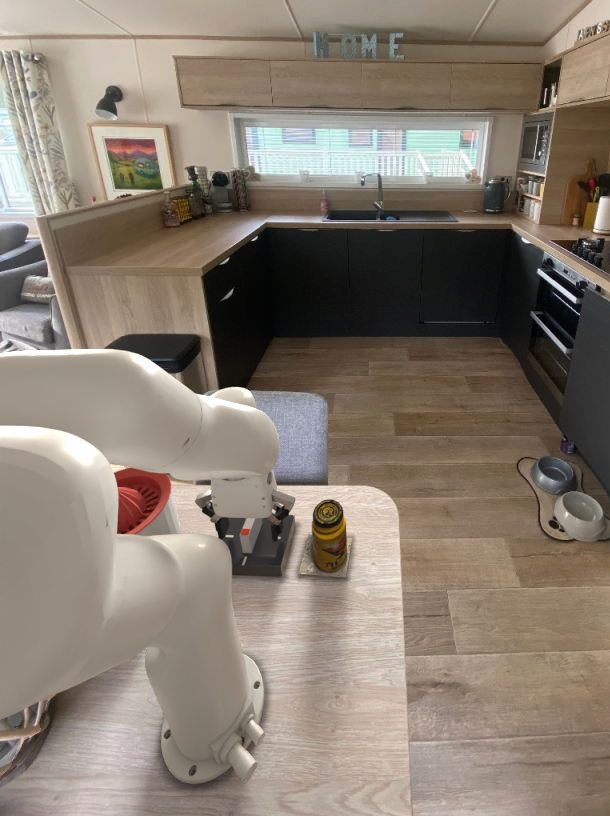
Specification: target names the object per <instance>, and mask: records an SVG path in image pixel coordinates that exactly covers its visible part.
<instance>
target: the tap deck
mask: <svg viewBox="0 0 610 816" xmlns="http://www.w3.org/2000/svg"><path fill="white" fill-rule="evenodd" d="M228 518H229V523H230V525H229V528H228V530H227V532H226V534H225V537H224V539H222V540H223V541H224V542H225V543H226V545H227V546H228V548H229V550H230V554H231V559H232V576H240V577H241V576H243V577H244V576H246V577H265V578H266V577H268V578H270V577H272V578H282V577H283V575H284V572H285V569H286V564H287V560H288V557H289V552H290V548H291V545H292V541H293V537H294V533H295V529H296V526H297V525H296V517H295V514H289V515H288V516H287V517H286V518H284V519H283V531H282V534H279V536H278V539H277V541H273V539H272V532H271V523H272V522H271V521H270V520H269V519H267V518H262V522H263V523H262V526H261V529H260V531H259V534H258V537H257V540H256V543H255V545H254V548H253V551H252V553H243V551H242V546H241V541H240V533H241V531H242V528H243V526H244V523H245V521H246V519H247V518H230V517H228Z"/></svg>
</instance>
